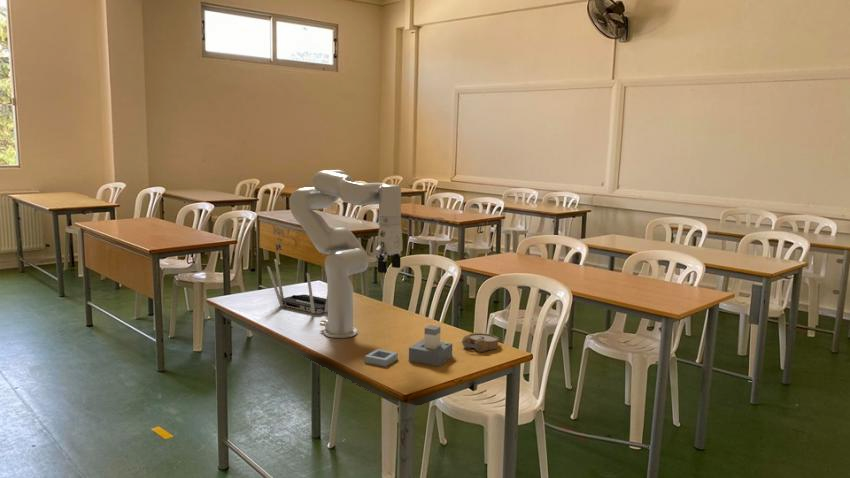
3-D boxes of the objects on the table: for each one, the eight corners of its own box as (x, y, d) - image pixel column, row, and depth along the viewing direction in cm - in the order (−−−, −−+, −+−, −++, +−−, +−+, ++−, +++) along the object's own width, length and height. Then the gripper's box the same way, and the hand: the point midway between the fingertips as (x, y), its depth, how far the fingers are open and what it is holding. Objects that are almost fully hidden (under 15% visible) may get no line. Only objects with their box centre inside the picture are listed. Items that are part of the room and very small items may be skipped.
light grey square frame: (364, 362, 208) (364, 356, 208) (376, 355, 215) (377, 349, 215) (385, 366, 205) (385, 360, 204) (397, 359, 212) (397, 352, 211)
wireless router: (354, 308, 272) (354, 263, 269) (317, 321, 253) (317, 272, 249) (296, 297, 290) (295, 254, 286) (258, 308, 270) (257, 262, 267)
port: (408, 360, 211) (409, 346, 210) (423, 351, 220) (423, 337, 220) (438, 366, 206) (439, 352, 205) (452, 356, 216) (452, 342, 215)
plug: (424, 356, 212) (424, 328, 210) (429, 353, 215) (429, 324, 214) (434, 358, 210) (435, 329, 209) (439, 355, 214) (440, 326, 212)
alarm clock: (505, 338, 228) (482, 340, 216) (503, 351, 228) (480, 354, 216) (479, 331, 235) (456, 333, 223) (477, 344, 235) (454, 347, 223)
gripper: (387, 224, 206) (386, 275, 208) (411, 219, 221) (410, 266, 224) (367, 223, 209) (367, 273, 212) (392, 217, 224) (391, 264, 227)
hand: (389, 269), depth 218 cm, fingers open, 9 cm apart
